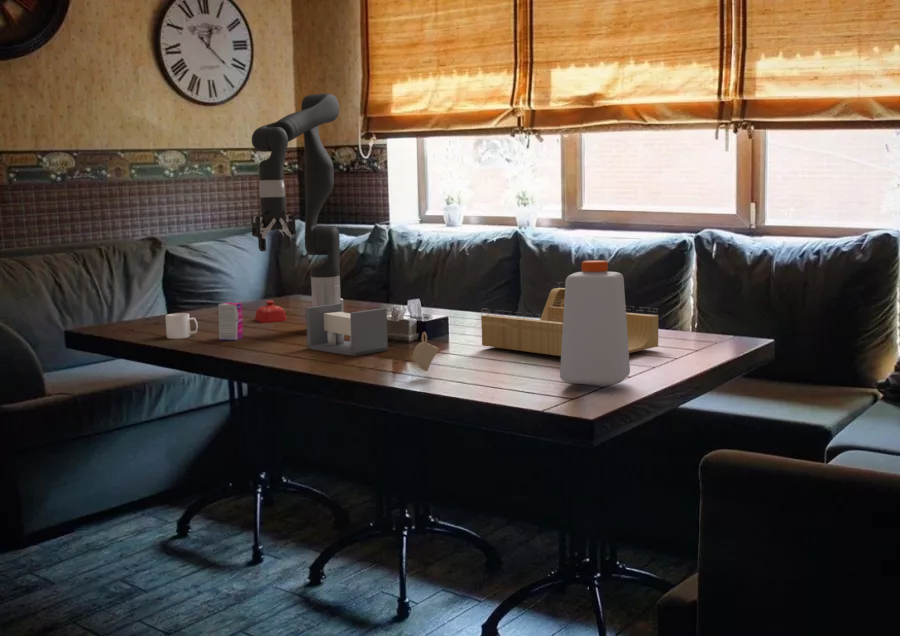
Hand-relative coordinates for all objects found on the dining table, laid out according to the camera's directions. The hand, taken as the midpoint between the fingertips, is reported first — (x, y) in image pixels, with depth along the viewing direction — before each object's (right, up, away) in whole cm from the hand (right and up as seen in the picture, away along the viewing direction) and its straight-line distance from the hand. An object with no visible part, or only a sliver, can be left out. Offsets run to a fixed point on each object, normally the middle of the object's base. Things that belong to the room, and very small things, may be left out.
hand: (275, 250), depth 302 cm
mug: (-33, -27, +19) cm, 46 cm away
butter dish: (-9, -23, +46) cm, 53 cm away
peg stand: (+23, -29, -11) cm, 39 cm away
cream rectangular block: (+22, -24, -11) cm, 35 cm away
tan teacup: (+46, -34, -46) cm, 74 cm away
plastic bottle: (+87, -35, -62) cm, 112 cm away
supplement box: (-16, -27, +13) cm, 34 cm away
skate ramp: (+88, -29, -15) cm, 94 cm away
